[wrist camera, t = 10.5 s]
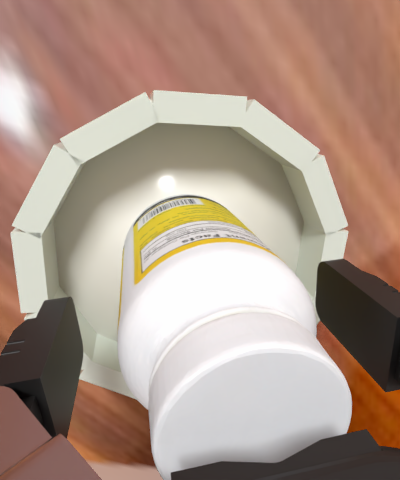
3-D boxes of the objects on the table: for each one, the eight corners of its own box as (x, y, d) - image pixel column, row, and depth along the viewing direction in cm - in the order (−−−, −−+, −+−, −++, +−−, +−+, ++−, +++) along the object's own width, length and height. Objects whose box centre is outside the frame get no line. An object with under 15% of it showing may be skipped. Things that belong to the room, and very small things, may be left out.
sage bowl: (-31, 192, 14) (-72, 210, 11) (249, 38, 14) (276, 19, 11) (133, 396, 19) (133, 444, 16) (342, 283, 19) (378, 312, 16)
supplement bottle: (206, 319, 17) (288, 552, 8) (102, 277, 15) (54, 511, 6) (265, 224, 16) (439, 369, 7) (159, 168, 14) (200, 258, 5)
